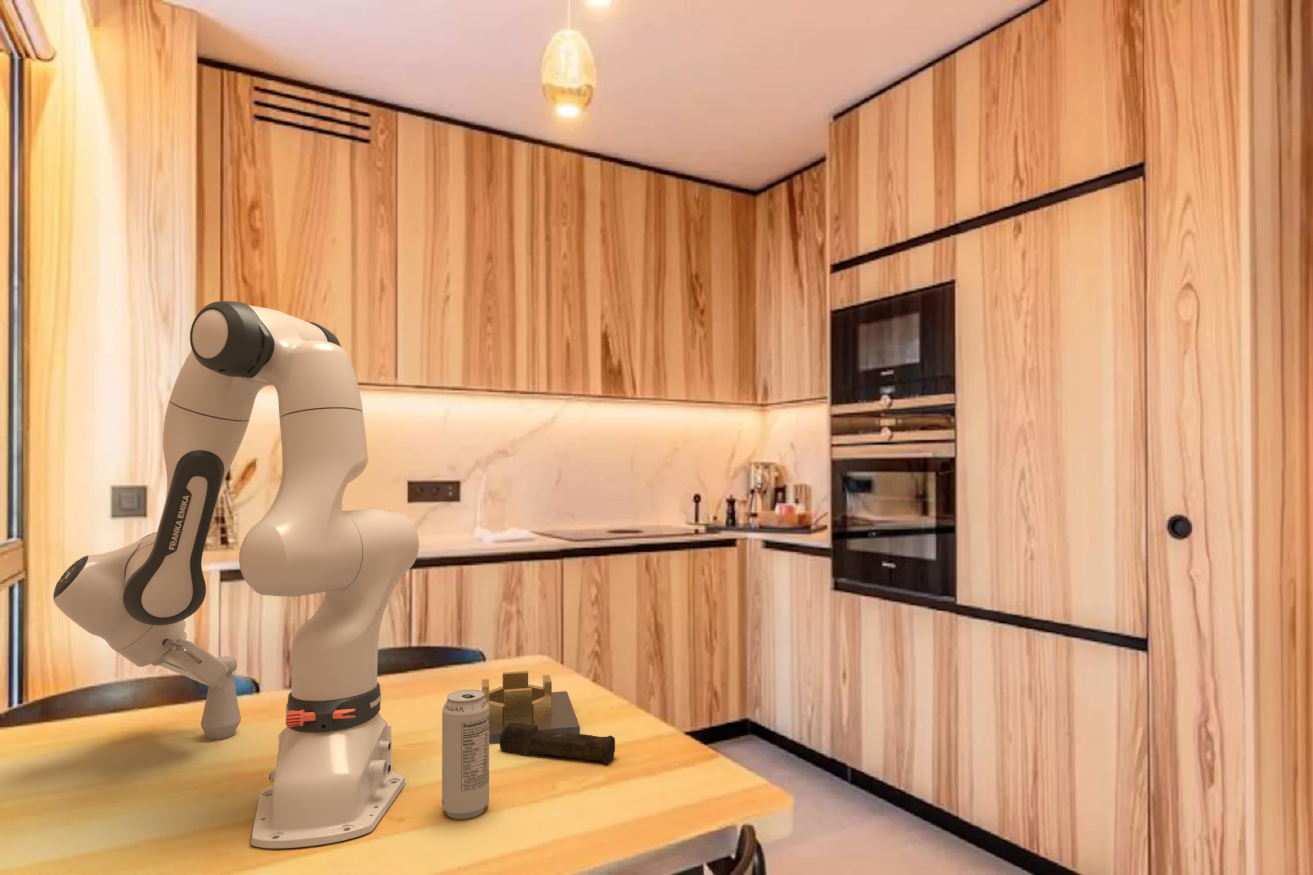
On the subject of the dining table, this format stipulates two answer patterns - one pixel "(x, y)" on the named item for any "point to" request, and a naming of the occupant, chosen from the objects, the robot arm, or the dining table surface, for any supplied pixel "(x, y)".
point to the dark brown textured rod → (555, 743)
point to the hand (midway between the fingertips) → (218, 684)
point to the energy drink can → (465, 754)
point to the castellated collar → (528, 706)
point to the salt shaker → (221, 708)
